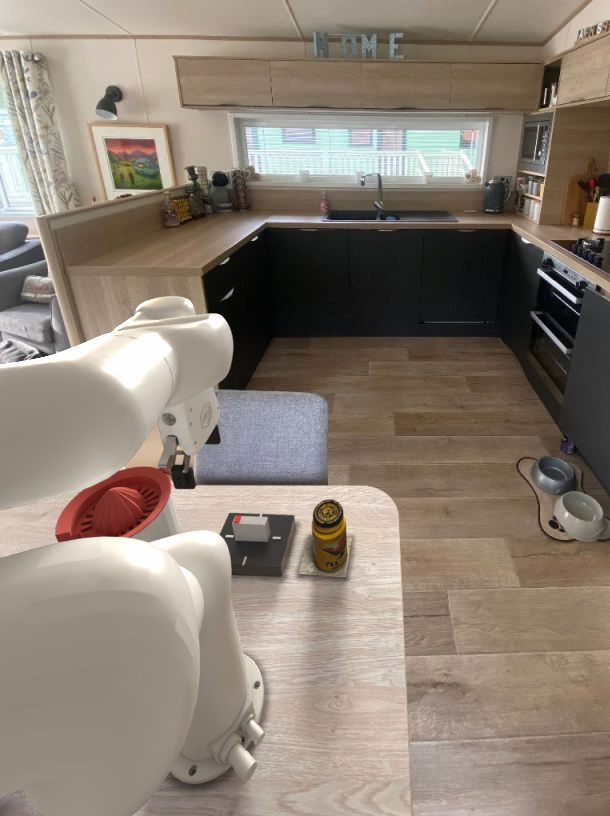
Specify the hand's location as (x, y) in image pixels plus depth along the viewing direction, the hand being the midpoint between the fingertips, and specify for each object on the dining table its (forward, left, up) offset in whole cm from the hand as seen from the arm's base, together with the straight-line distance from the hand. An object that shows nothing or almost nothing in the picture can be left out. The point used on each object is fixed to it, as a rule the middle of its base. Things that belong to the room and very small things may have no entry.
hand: (199, 463), depth 65 cm
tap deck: (-6, -4, -21) cm, 22 cm away
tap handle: (-6, -4, -17) cm, 19 cm away
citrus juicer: (+7, +11, -21) cm, 25 cm away
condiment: (-18, -10, -21) cm, 29 cm away
